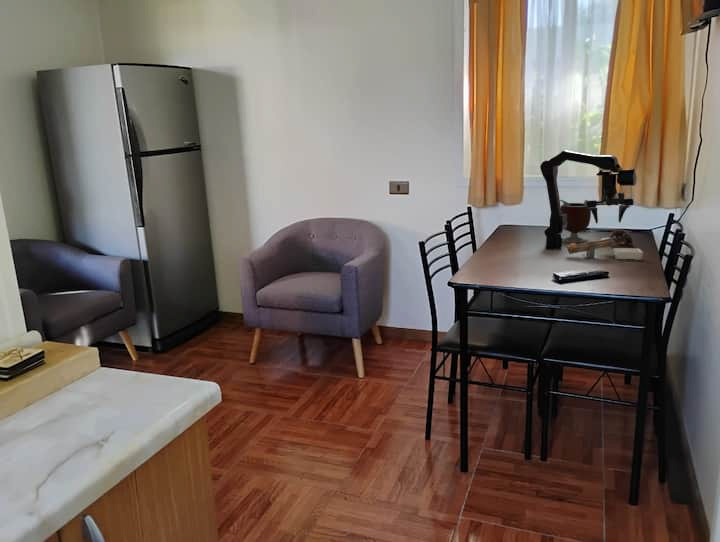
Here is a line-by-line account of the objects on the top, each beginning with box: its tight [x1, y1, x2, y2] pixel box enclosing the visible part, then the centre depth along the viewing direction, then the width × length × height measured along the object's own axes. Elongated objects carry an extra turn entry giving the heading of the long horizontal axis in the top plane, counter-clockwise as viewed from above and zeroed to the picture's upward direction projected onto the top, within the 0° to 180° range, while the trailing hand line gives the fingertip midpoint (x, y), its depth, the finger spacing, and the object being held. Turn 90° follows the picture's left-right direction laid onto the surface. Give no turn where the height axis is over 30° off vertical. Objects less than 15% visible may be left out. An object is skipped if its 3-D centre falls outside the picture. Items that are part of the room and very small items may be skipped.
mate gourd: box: [560, 199, 592, 243], centre depth 288 cm, size 16×14×20 cm
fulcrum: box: [582, 247, 600, 260], centre depth 253 cm, size 5×8×5 cm, turn 169°
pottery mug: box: [609, 229, 634, 247], centre depth 275 cm, size 12×10×8 cm
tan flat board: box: [566, 236, 616, 255], centre depth 257 cm, size 18×14×3 cm
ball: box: [568, 242, 578, 248], centre depth 254 cm, size 3×3×3 cm
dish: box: [612, 247, 644, 261], centre depth 250 cm, size 10×7×3 cm
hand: (608, 222), depth 258 cm, fingers open, 9 cm apart
